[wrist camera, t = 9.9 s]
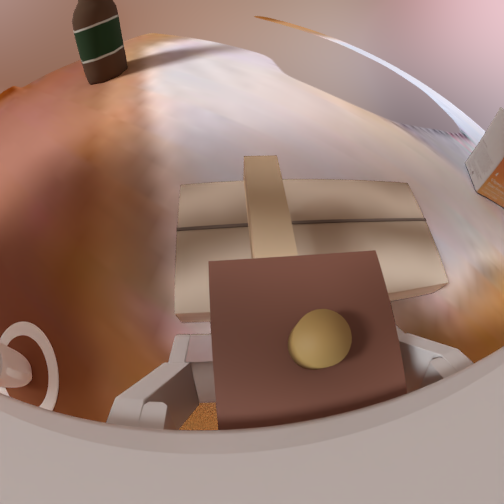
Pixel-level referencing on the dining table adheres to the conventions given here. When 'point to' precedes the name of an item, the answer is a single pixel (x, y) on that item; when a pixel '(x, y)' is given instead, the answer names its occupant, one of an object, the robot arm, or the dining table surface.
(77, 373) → the dining table surface
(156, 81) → the dining table surface
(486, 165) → the small box
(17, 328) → the white curved piece
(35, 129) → the dining table surface
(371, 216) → the ash board
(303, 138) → the dining table surface
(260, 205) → the block
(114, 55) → the beer bottle
